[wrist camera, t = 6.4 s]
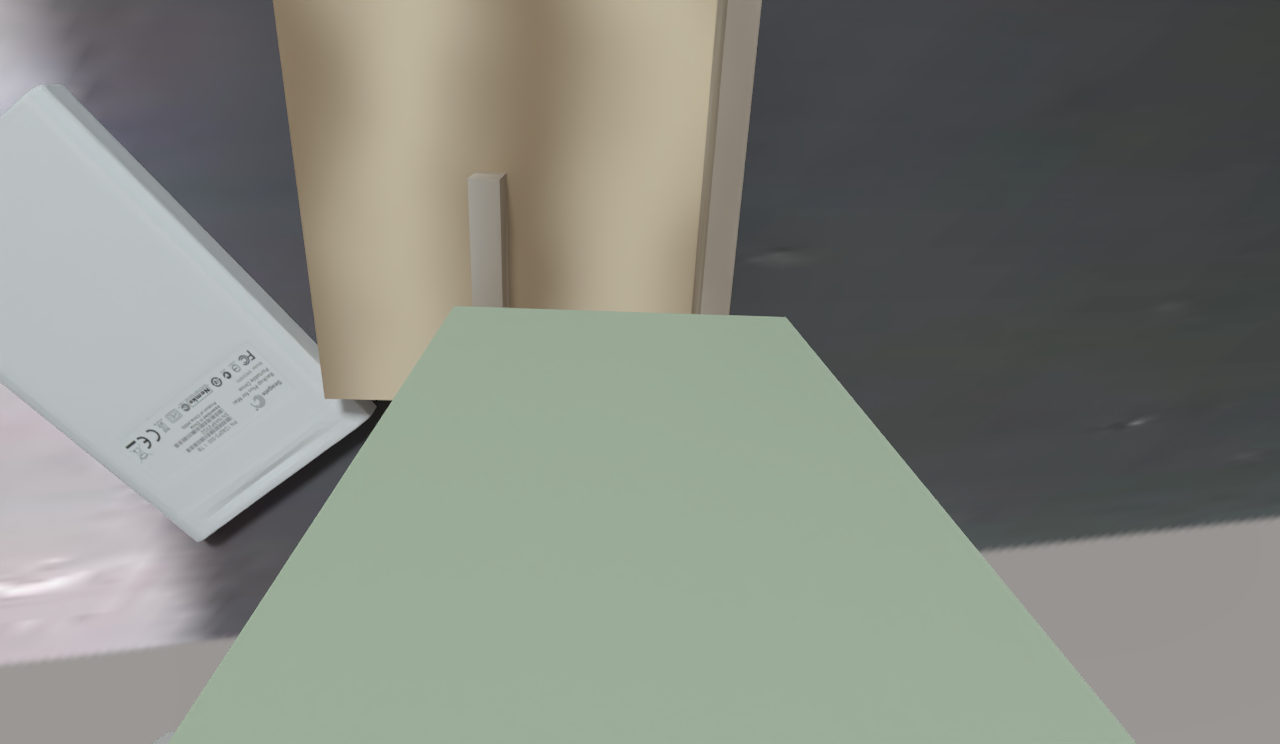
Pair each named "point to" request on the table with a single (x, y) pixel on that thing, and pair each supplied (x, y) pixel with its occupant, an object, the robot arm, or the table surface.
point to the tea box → (636, 563)
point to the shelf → (510, 163)
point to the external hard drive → (147, 327)
